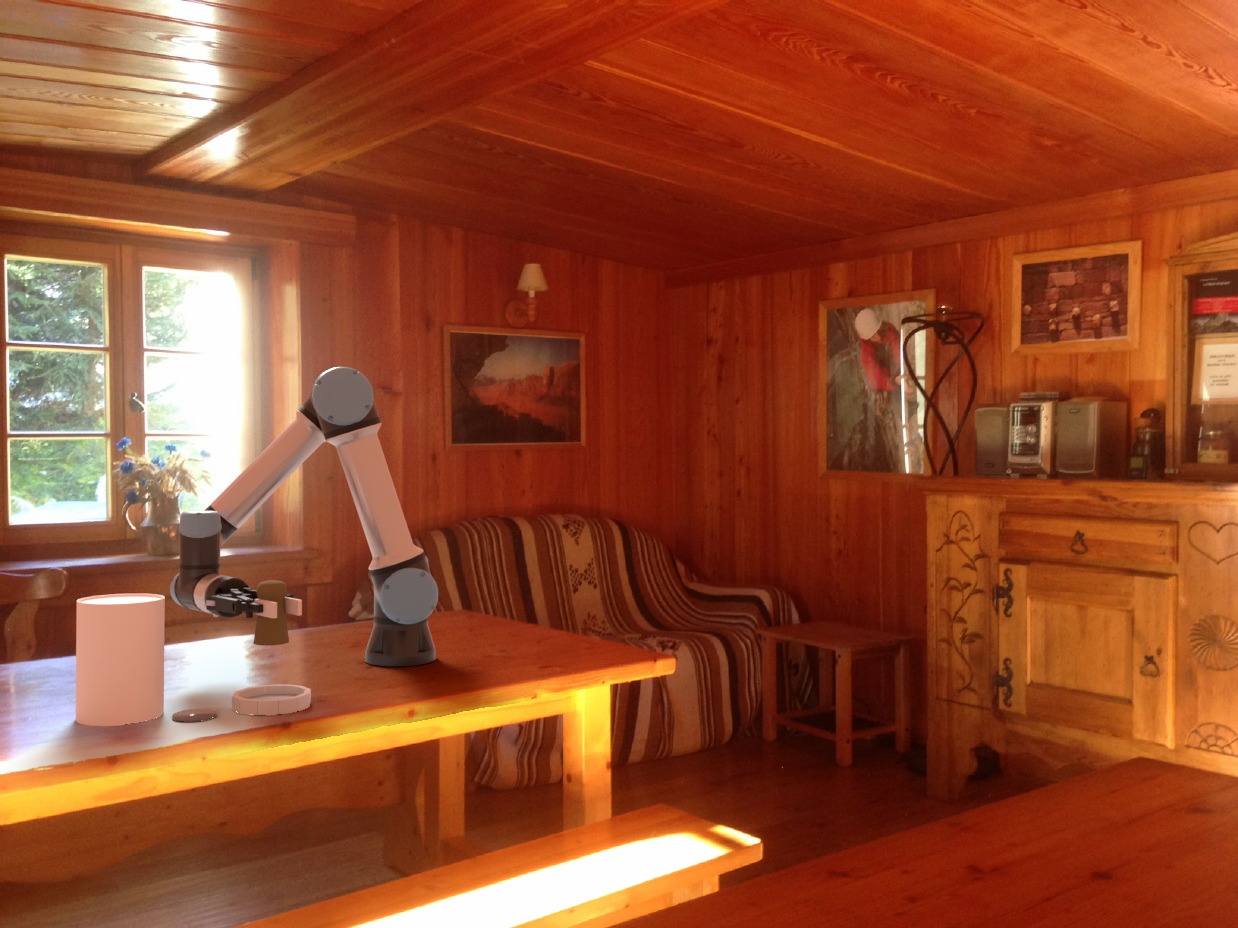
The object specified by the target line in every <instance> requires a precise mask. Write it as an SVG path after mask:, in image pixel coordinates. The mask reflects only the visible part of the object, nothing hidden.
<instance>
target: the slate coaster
mask: <svg viewBox="0 0 1238 928" xmlns="http://www.w3.org/2000/svg"><path fill="white" fill-rule="evenodd" d="M216 715H217V716H218V713H217V710H215V709H214V708H213V709H211V708H191V709H184V710H179V711H176V712H174V713H172V715H171V718H172V720H173V721H174V720H176V721H175V722H177V721H184V722H183V723H194V722H193V721H199V722H202V721H201V720H205V721H209V720H208V719H210V718H212V717H215V718H216V717H217V716H216ZM210 720H211V719H210ZM191 721H192V722H191Z"/></svg>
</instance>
